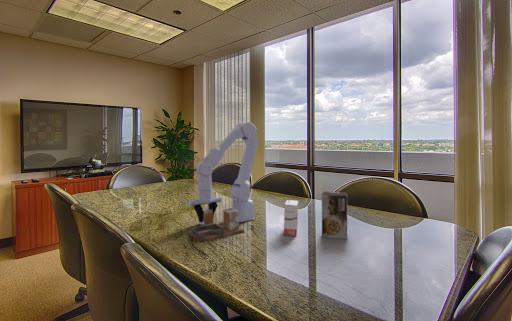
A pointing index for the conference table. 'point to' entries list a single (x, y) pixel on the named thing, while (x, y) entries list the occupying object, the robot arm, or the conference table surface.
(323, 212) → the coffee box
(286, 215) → the ink box
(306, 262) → the conference table surface
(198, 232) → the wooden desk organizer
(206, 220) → the grey rectangular block
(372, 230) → the conference table surface
